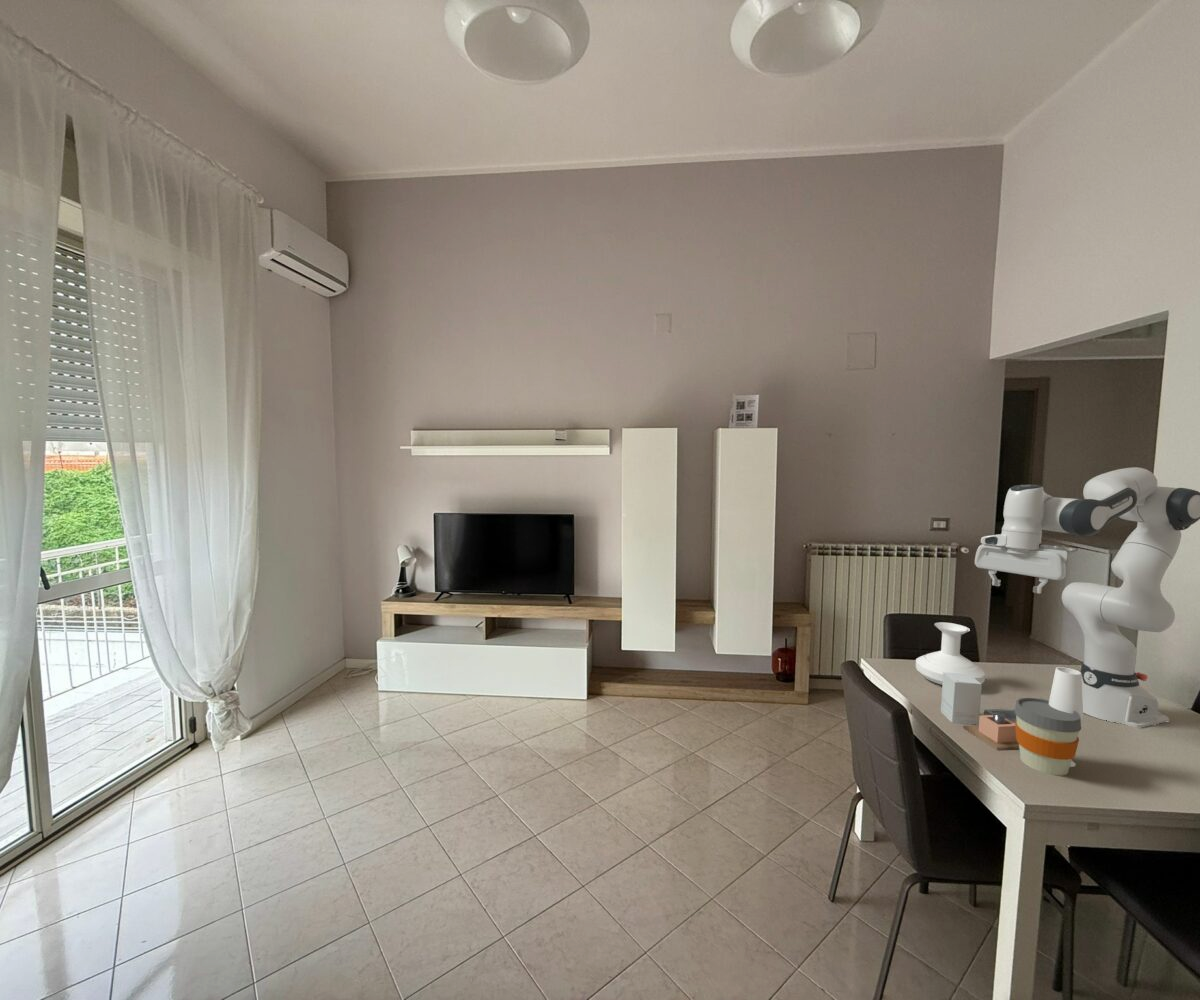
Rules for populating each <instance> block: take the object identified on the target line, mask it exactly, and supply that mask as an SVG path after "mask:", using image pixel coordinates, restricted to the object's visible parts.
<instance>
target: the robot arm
mask: <svg viewBox="0 0 1200 1000" xmlns="http://www.w3.org/2000/svg"><path fill="white" fill-rule="evenodd" d="M1082 491H1083V492H1082V495H1083V498H1071V497H1070V498H1068V497H1067V498H1066V497H1054V496H1052V495H1050V494H1048V493H1047V492H1045V490H1044V487H1043V486H1042V485H1039V484H1032V483H1031V484H1029V483H1028V484H1018V485H1017V484H1016V485H1013V486H1011V487H1010V488H1009V489H1008V490H1007V493H1006V494H1005V495H1006V496H1005V500H1004V505H1003V512H1002V513H1003V514H1002V515H1003V519H1004V521H1003V525H1002V527H1001V533H995V534H992V535H990V534H989V535H984V536H982V537H981V538H980V543H981V544H980V545H979V546H978V548H977V549H976V552H975V557H974V565H975V566H976V567H977V568H978V569H984V570H988V575H989V576H990V578H991V580H992V581H991V586H995V587H1000V586H1001V579H998V578H997V576H996V574H997V572H1003V573H1010V574H1017V575H1022V576H1029V577H1035V578H1038V581H1039V582H1040V583H1039V584H1038V585H1034V586H1033V587H1032V593H1034V594H1041V593H1042V591H1043V587H1044V586H1045V585H1046V584H1047V583H1048V582H1049V580H1054V581H1061V580H1063V579H1065V578H1066V576H1067V575H1066V574H1067V567H1066V562H1067V561H1068V559H1069V551H1068V550H1067V549H1066V548H1064V547H1062V546H1060V545H1050V544H1047V543H1046V544H1045V543H1042V537H1043V531H1042V530H1044V531H1049V532H1058V533H1064V534H1071V535H1074V536H1075V535H1076V536H1081V537H1091V536H1093V535H1095V534H1097V533H1099V532H1100V531H1101V530H1102V529H1104V527H1105V526H1106V525H1107V524H1109V523H1110V522H1112V521H1114V520H1115V519H1116V520H1120V521H1131V522H1137V526H1136V528H1135V529H1133V531H1131V533H1130V534H1129V535H1128V536H1127V537H1126V539H1125V540H1124V542H1123V543H1122V545H1121V547H1120V549H1119V550H1118V552H1117V553H1116V555H1115V557H1114V558H1113V560H1112V561H1111V564H1110V567H1111V571H1112V573H1113V574H1114V576H1116V577H1117V578H1118V579H1119V580H1121V581H1123V583H1122V584H1121V586H1119V587H1115V586H1110V585H1106V584H1101V583H1096V582H1095V583H1094V582H1084V581H1083V582H1082V581H1079V582H1078V581H1077V582H1075V581H1074V582H1071V583H1069V584H1067V585H1066V586H1065V587H1064V589H1063V590H1062V592H1061V602H1062V604H1063V606H1064V608H1065V609H1067V610H1068V612H1070V614H1072V616H1073V617H1074V618H1075V619H1076V621H1077V622H1078V625H1079V627H1080V629H1081V631H1082V635H1083V642H1084V646H1083V647H1084V648H1083V660H1082V662H1081V664H1080V667H1079V668H1080V672H1081V678H1082V699H1083V714H1086V715H1088V716H1091V717H1093V718H1096V719H1100V720H1103V721H1106V720H1107V722H1111V723H1114V722H1116V723H1115V724H1120V723H1121V724H1120V725H1124V724H1125V725H1124V726H1127V725H1128V726H1127V727H1131V726H1133V727H1132V728H1134V727H1137V728H1136V729H1140V728H1139V727H1144V726H1149V725H1153V726H1155V725H1154V724H1158V723H1162V722H1166V721H1170V718H1169V717H1168V716H1167V715H1166V714H1163V713H1161V712H1160V711H1159V702H1158V700H1157V698H1156V697H1155V696H1153V695H1152V694H1151V693H1150V692H1149V691H1147V690H1146V689H1145V688H1144V687H1142V686H1141V685H1140V682H1139V680H1141V681H1142V682H1146V681H1147V680H1148V675H1147V674H1145V673H1141V672H1136V671H1135V670H1136V661H1137V660H1136V659H1137V648H1136V646H1135V645H1134V643H1133V642H1132V641H1131V640H1130V639H1128V638H1127V637H1125V636H1124V635H1123V634H1122V633H1121V631H1120V629H1119V628H1118V627H1119V626H1120V627H1124V628H1126V629H1127V628H1128V629H1131V630H1136V631H1142V632H1151V633H1162V632H1164V631H1166V630H1168V629H1169V628H1170V627H1171V626H1172V625H1173V623H1174V622H1175V619H1176V617H1175V616H1176V614H1175V610H1174V608H1173V606H1172V604H1171V603H1170V601H1168V600H1167V599H1166V598H1165V597H1164V595H1163V594H1162V590H1161V584H1162V581H1163V578H1164V575H1165V574H1166V572H1167V570H1168V569H1169V567H1170V565H1171V563H1172V561H1173V560H1174V558H1175V556H1176V553H1177V551H1178V550H1179V546H1180V543H1181V539H1182V531H1185V530H1187V529H1188V528H1190V527H1191V526H1192V525H1194V524H1196V522H1198V521H1200V491H1198V490H1195V489H1191V488H1186V487H1177V488H1176V487H1170V486H1159V485H1158V479H1157V477H1156V475H1155V474H1154V473H1153V472H1152V471H1150V470H1149V469H1146V468H1142V467H1136V466H1135V467H1134V466H1132V467H1123V468H1118V469H1115V470H1110V471H1108V472H1104V473H1101V474H1099V475H1098V474H1097V475H1096V476H1094V477H1092V478H1091V479H1089V480H1088V481H1086V483H1085V484H1084V487H1083V490H1082ZM1158 725H1159V724H1158ZM1149 727H1150V726H1149ZM1144 728H1145V727H1144Z"/></svg>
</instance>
